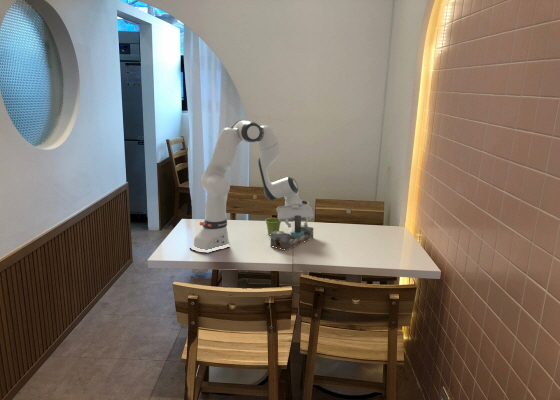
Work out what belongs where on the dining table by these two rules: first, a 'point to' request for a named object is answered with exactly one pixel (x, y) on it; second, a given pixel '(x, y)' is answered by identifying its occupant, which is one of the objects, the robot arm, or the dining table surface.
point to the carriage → (297, 228)
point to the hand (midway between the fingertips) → (298, 226)
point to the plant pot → (272, 224)
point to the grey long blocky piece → (287, 240)
